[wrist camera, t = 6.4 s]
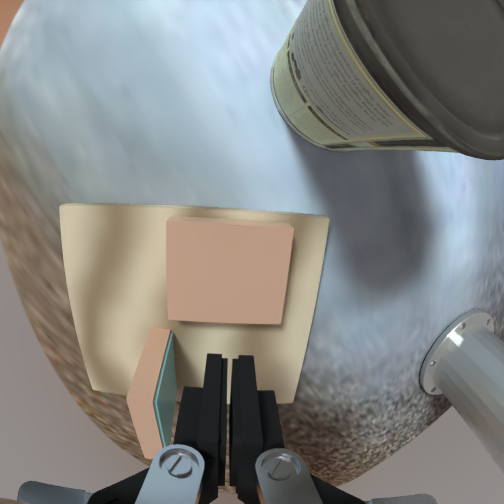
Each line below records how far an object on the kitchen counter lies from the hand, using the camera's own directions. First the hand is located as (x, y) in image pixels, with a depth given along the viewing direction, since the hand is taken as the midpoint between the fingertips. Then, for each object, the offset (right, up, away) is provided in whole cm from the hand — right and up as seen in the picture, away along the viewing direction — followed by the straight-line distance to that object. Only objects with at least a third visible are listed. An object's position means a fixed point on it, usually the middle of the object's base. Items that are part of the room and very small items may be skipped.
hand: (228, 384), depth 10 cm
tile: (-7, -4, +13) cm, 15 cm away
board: (-4, 0, +13) cm, 14 cm away
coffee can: (+7, +17, +9) cm, 20 cm away
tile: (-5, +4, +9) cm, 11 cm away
